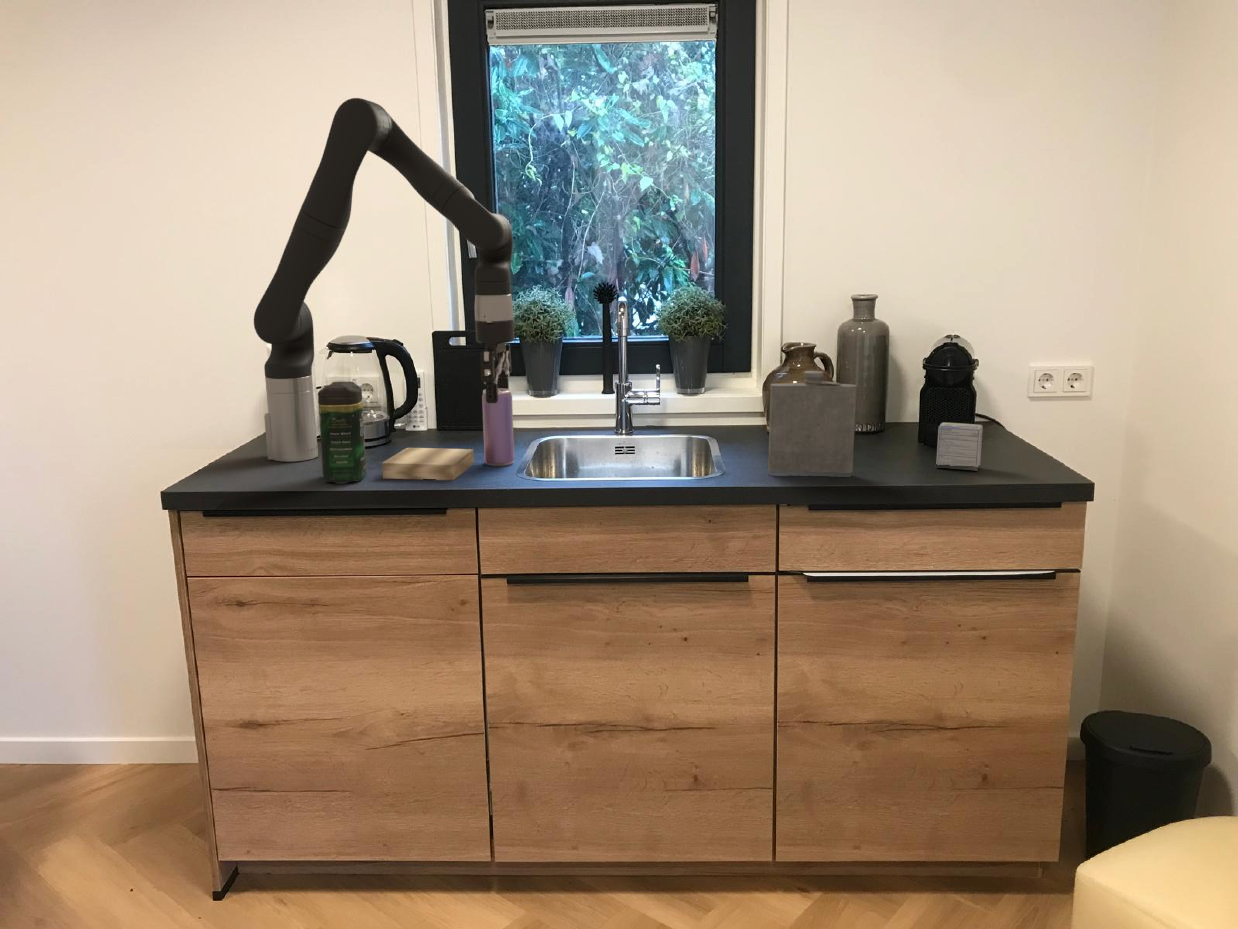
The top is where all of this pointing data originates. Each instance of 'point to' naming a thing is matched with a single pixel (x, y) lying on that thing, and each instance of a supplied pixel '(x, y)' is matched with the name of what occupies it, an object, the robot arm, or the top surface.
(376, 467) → the top surface
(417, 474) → the plinth
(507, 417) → the beverage can
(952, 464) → the medicine box
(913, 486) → the top surface
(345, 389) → the coffee jar
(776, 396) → the hip flask
